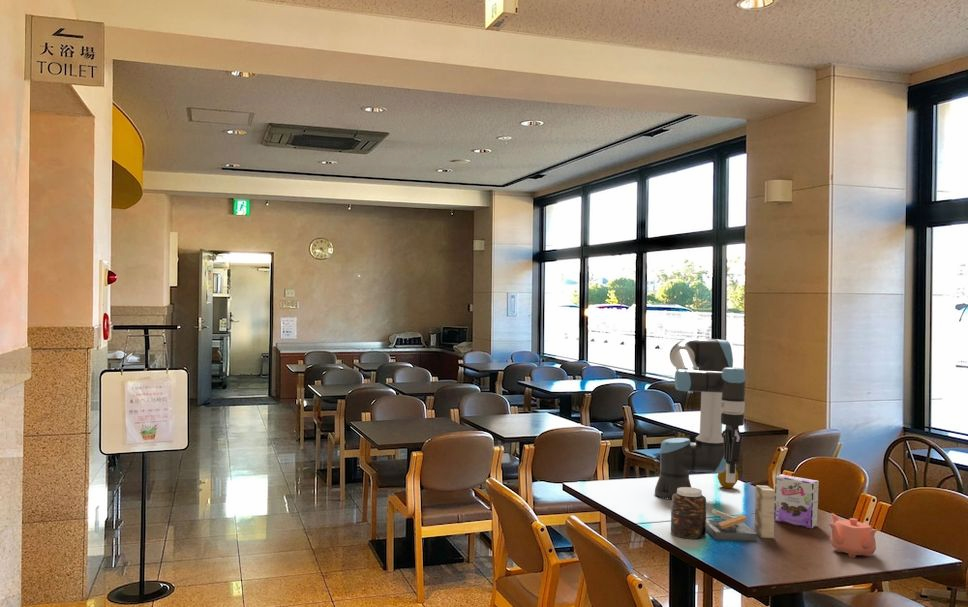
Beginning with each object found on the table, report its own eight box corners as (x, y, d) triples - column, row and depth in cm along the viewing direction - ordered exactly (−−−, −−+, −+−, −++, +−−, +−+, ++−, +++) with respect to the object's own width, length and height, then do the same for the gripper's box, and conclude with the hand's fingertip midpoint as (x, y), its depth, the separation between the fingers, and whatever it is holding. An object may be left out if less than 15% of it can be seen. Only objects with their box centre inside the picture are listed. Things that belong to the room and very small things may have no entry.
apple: (734, 491, 327) (735, 470, 327) (714, 488, 331) (715, 467, 331) (740, 487, 334) (740, 467, 334) (720, 484, 338) (721, 464, 338)
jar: (712, 539, 255) (713, 494, 255) (678, 539, 253) (680, 494, 253) (696, 528, 267) (697, 485, 267) (664, 529, 265) (666, 485, 265)
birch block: (754, 531, 266) (755, 485, 266) (765, 531, 266) (767, 485, 266) (761, 537, 259) (763, 490, 259) (773, 538, 259) (775, 490, 259)
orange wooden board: (718, 526, 260) (717, 522, 260) (744, 518, 260) (742, 514, 260) (722, 529, 257) (721, 525, 257) (747, 520, 257) (746, 517, 257)
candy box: (773, 520, 281) (774, 475, 281) (779, 517, 285) (781, 473, 285) (811, 529, 272) (813, 482, 272) (817, 526, 276) (819, 480, 276)
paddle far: (711, 511, 267) (712, 508, 267) (735, 521, 267) (736, 518, 267) (714, 514, 264) (716, 511, 264) (738, 524, 264) (740, 520, 264)
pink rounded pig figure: (877, 563, 235) (878, 528, 235) (826, 555, 242) (827, 520, 242) (878, 551, 248) (879, 517, 248) (829, 543, 255) (830, 510, 255)
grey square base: (701, 526, 270) (702, 516, 270) (741, 528, 270) (741, 517, 270) (715, 539, 255) (715, 528, 255) (757, 540, 255) (757, 530, 255)
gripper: (715, 410, 269) (713, 478, 268) (727, 415, 256) (725, 486, 255) (737, 411, 269) (735, 478, 269) (750, 415, 256) (748, 486, 256)
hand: (730, 482), depth 262 cm, fingers closed
